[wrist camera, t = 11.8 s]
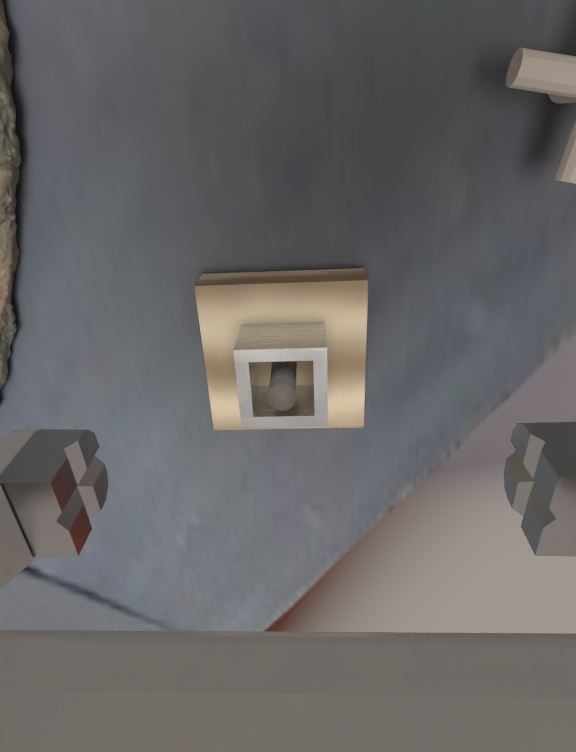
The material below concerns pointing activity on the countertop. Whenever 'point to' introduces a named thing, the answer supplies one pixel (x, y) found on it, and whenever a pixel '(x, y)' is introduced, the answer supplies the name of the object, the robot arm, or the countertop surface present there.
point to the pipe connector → (549, 91)
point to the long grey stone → (7, 198)
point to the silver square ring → (272, 347)
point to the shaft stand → (286, 305)
